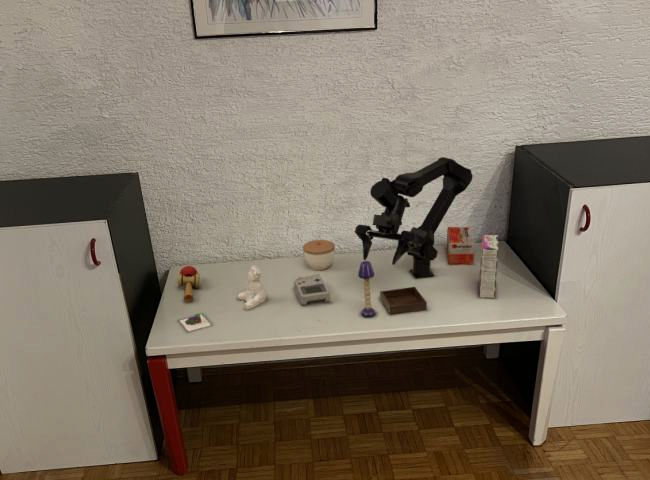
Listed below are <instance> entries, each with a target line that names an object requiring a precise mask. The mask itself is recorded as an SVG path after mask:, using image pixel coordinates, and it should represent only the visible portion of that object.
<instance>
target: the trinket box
mask: <svg viewBox="0 0 650 480" xmlns="http://www.w3.org/2000/svg"><path fill="white" fill-rule="evenodd" d="M335 249H336V246H335V243H334V242H332V241H330V240H327V239H315V240H310V241H308V242H305V243H304V244H303V246H302V250H303V257H304V261H305V263H306V264H307V265H308V267H310V268H311V269H312V270H314V271H324V270H327V269H328V268H329V267H330V266H331V264H332V263H333V262H334V260H335V251H336V250H335Z"/></svg>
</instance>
